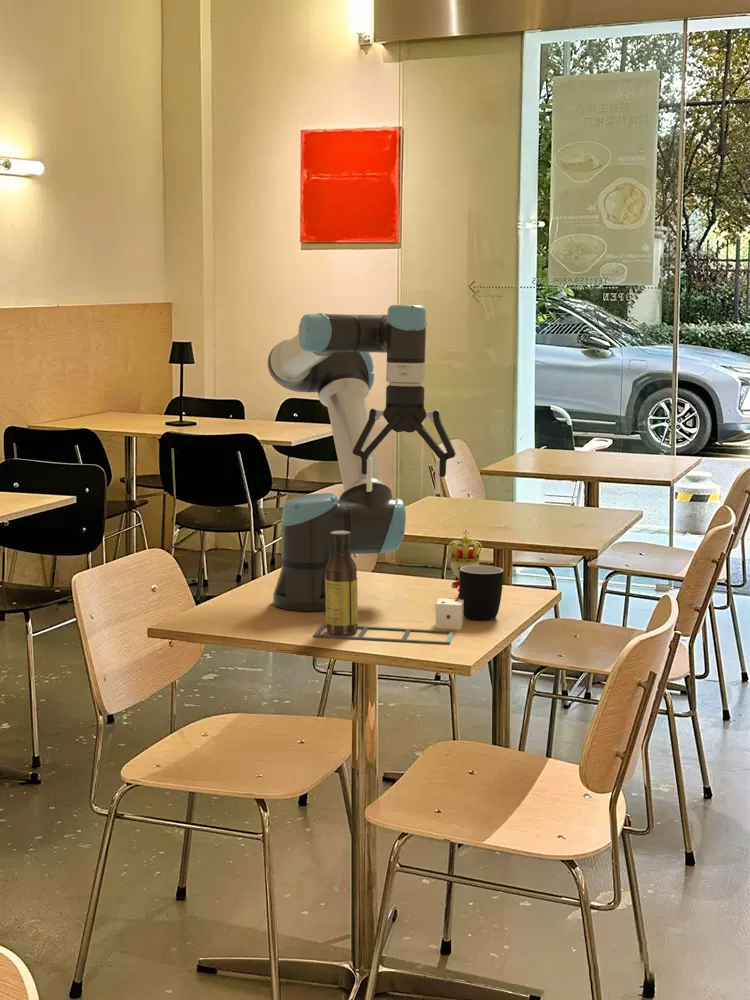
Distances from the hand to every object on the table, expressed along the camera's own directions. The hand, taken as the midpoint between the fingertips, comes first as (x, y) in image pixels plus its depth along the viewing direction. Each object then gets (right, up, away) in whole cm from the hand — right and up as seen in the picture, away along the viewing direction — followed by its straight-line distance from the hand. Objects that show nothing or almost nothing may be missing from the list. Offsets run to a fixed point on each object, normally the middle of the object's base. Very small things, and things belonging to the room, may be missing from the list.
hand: (403, 492), depth 251 cm
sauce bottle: (-12, -28, -4) cm, 30 cm away
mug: (+15, -26, +12) cm, 32 cm away
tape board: (-4, -28, -6) cm, 29 cm away
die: (+9, -27, +3) cm, 29 cm away
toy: (+14, -23, +30) cm, 40 cm away
